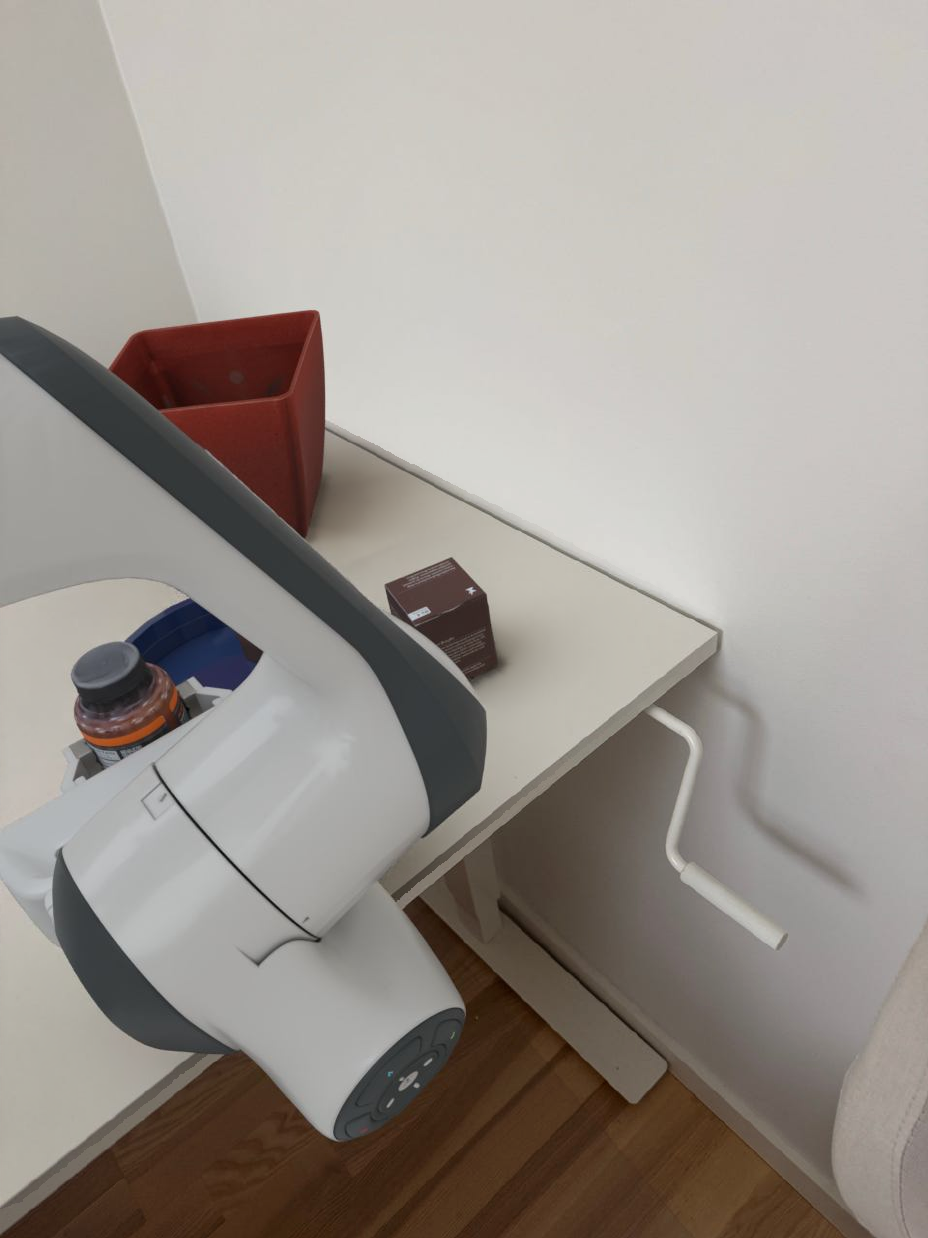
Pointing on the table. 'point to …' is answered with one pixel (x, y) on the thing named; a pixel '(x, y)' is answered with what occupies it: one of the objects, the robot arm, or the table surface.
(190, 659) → the bowl
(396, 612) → the box
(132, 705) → the supplement bottle
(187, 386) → the flower pot
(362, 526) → the table surface
